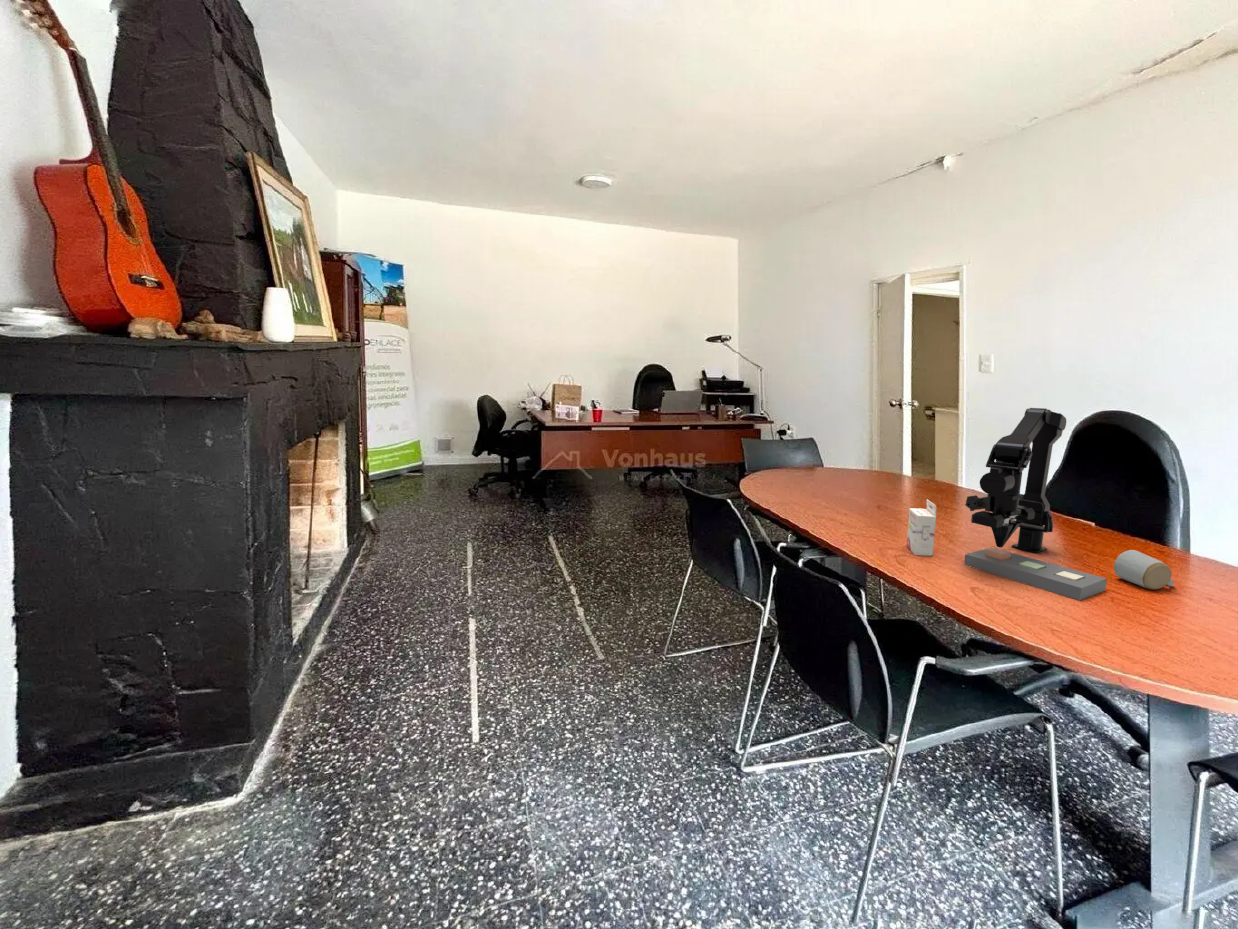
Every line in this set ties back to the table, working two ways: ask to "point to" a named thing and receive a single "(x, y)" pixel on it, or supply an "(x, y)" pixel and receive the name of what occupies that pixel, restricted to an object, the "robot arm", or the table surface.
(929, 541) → the ink cartridge box
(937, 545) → the table surface
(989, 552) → the terracotta button
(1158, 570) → the ceramic mug
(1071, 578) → the cream button
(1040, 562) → the console
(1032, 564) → the sage button
